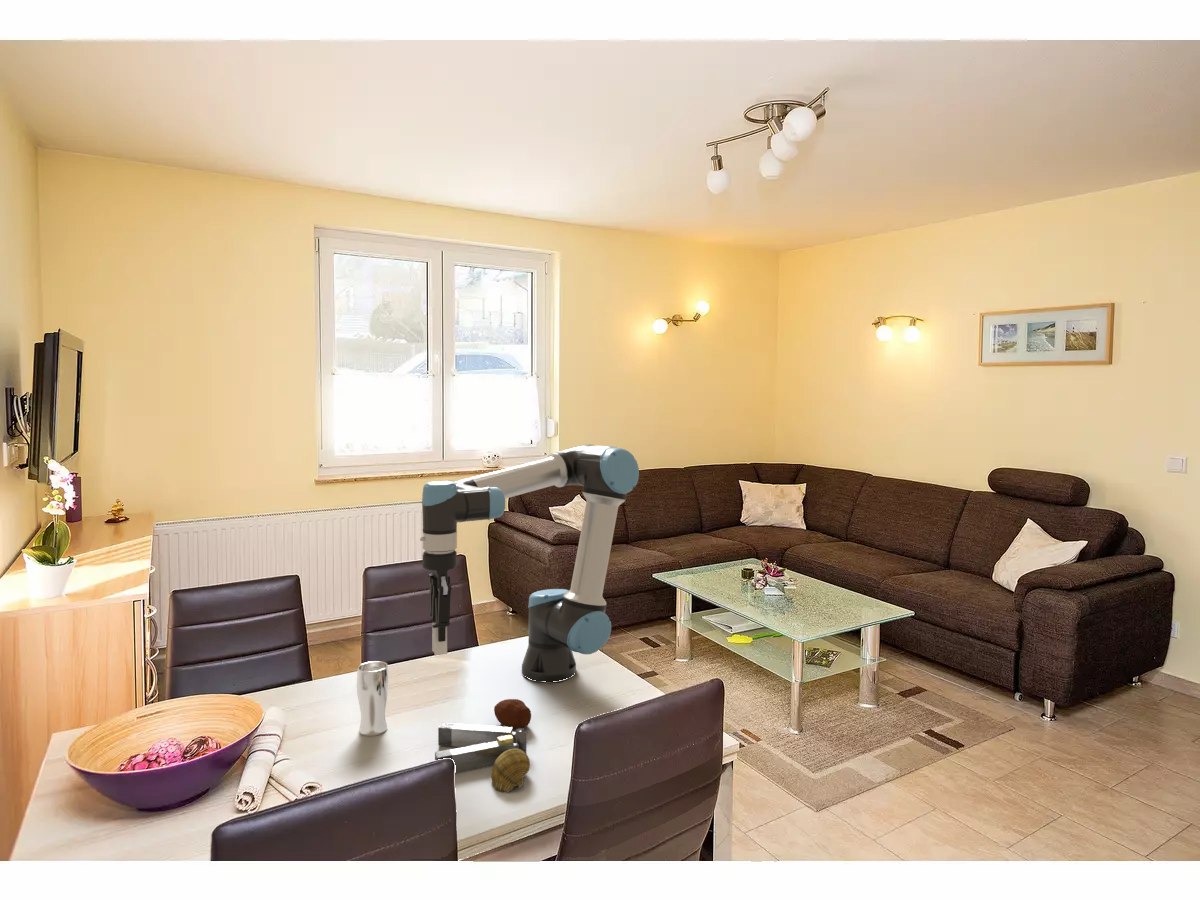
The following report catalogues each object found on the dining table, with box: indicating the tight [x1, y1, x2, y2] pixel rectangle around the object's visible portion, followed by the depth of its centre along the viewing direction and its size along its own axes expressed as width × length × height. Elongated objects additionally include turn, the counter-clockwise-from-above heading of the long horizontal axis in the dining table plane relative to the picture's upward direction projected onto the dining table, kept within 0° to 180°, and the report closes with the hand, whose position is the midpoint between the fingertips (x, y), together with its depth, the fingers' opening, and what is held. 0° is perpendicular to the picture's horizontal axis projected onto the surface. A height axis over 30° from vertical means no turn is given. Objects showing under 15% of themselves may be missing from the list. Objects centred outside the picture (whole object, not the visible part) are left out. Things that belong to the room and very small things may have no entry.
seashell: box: [491, 748, 531, 794], centre depth 143 cm, size 10×7×8 cm
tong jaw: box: [437, 722, 515, 748], centre depth 157 cm, size 17×2×4 cm, turn 84°
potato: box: [493, 698, 532, 731], centre depth 167 cm, size 7×9×6 cm
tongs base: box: [434, 728, 528, 774], centre depth 150 cm, size 20×4×5 cm, turn 114°
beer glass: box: [356, 660, 390, 737], centre depth 163 cm, size 7×7×15 cm
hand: (439, 652), depth 163 cm, fingers open, 2 cm apart
